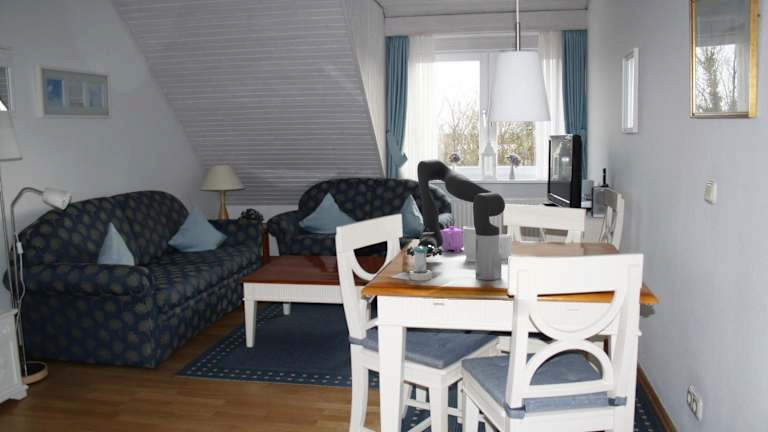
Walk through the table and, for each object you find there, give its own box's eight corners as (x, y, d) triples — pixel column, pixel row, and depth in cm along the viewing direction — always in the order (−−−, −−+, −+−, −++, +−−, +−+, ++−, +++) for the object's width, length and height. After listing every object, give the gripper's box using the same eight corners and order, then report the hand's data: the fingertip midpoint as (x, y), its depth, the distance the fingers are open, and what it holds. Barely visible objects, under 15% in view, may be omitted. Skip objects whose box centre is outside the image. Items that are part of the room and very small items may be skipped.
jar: (458, 260, 305) (457, 227, 303) (472, 257, 312) (472, 224, 310) (477, 264, 297) (477, 229, 295) (491, 260, 304) (491, 226, 302)
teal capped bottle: (429, 277, 267) (430, 247, 265) (422, 280, 263) (423, 249, 261) (417, 276, 270) (418, 245, 268) (410, 278, 266) (411, 247, 264)
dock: (438, 279, 269) (438, 270, 268) (424, 284, 261) (424, 275, 260) (403, 275, 278) (403, 266, 277) (389, 280, 270) (389, 270, 269)
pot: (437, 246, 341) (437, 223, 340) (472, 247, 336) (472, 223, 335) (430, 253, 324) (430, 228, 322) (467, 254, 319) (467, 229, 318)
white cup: (512, 259, 305) (512, 237, 304) (494, 259, 307) (494, 237, 305) (512, 256, 313) (512, 234, 311) (494, 256, 314) (494, 234, 313)
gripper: (410, 237, 292) (405, 244, 276) (444, 238, 289) (440, 244, 274) (410, 255, 293) (405, 263, 277) (444, 255, 290) (440, 263, 275)
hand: (422, 254), depth 275 cm, fingers open, 8 cm apart
